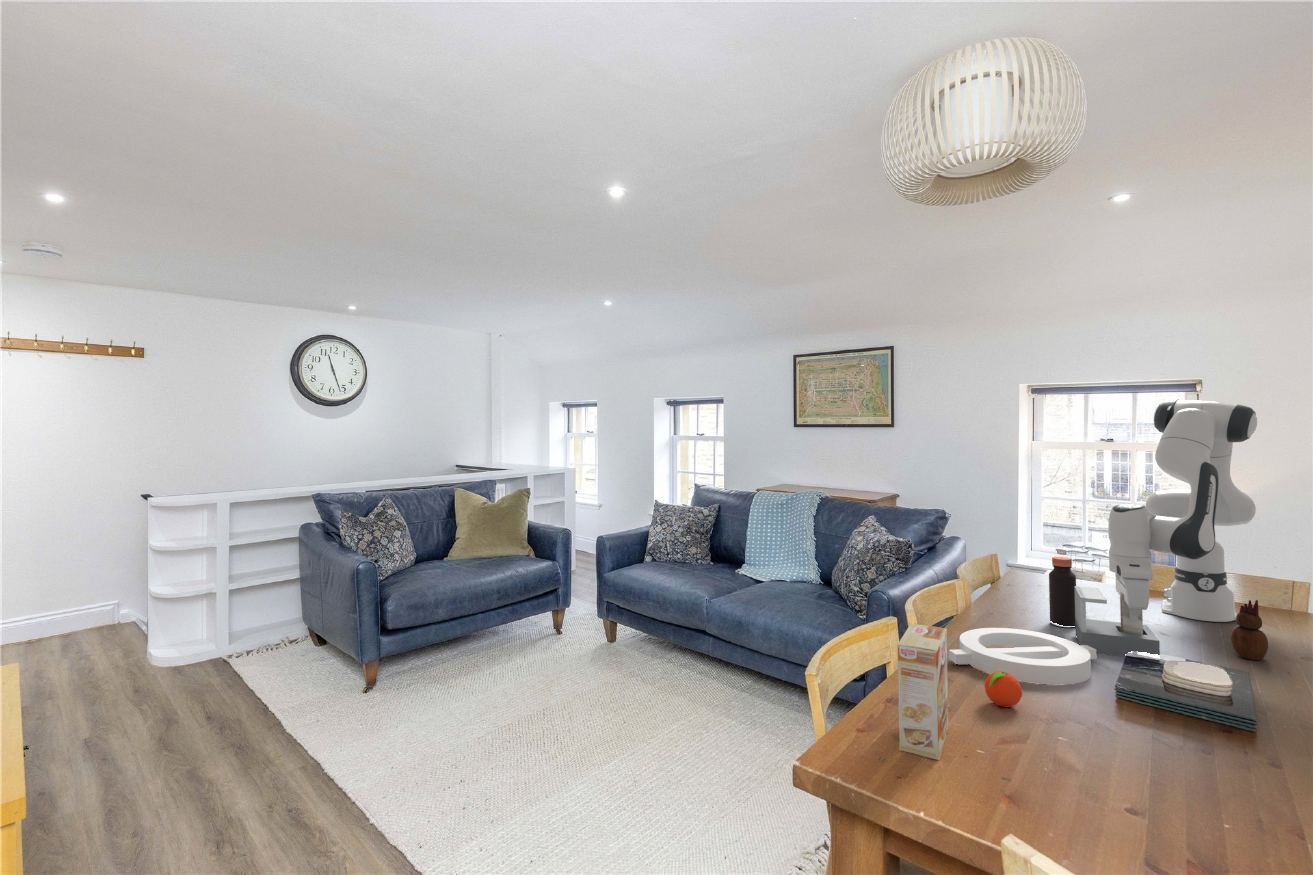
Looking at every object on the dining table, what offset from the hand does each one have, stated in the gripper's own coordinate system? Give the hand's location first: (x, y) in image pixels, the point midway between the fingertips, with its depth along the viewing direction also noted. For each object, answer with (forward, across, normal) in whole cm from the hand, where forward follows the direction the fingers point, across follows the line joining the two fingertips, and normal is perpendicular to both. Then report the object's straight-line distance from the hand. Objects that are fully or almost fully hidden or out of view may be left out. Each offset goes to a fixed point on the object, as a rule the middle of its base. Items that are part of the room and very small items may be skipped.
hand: (1131, 618), depth 159 cm
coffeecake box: (+8, +75, -44) cm, 87 cm away
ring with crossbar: (+9, +23, -26) cm, 36 cm away
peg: (+6, 0, 0) cm, 6 cm away
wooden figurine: (+8, -5, +24) cm, 26 cm away
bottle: (+8, -17, -14) cm, 23 cm away
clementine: (+8, +53, -31) cm, 62 cm away
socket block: (+8, 0, -4) cm, 9 cm away
